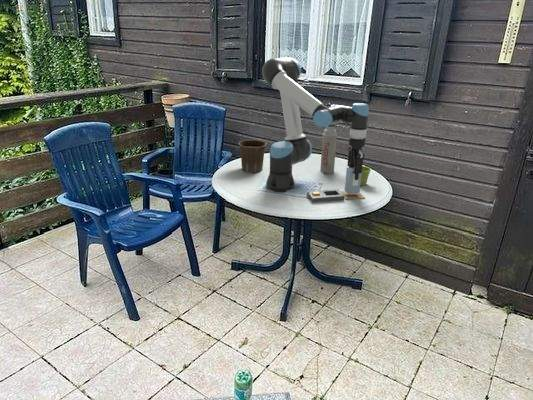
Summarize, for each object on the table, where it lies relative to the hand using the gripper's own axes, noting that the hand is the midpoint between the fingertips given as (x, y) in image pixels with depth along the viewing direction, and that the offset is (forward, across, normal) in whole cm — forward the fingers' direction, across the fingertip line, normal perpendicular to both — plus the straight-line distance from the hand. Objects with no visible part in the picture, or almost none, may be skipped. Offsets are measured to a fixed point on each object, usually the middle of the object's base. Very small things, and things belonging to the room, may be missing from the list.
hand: (352, 183), depth 195 cm
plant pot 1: (+7, +50, +42) cm, 65 cm away
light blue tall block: (+4, 0, 0) cm, 4 cm away
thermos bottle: (+7, +40, -1) cm, 40 cm away
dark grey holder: (+7, 0, +14) cm, 16 cm away
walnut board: (+7, 0, 0) cm, 7 cm away
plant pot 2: (+7, +16, -12) cm, 22 cm away
